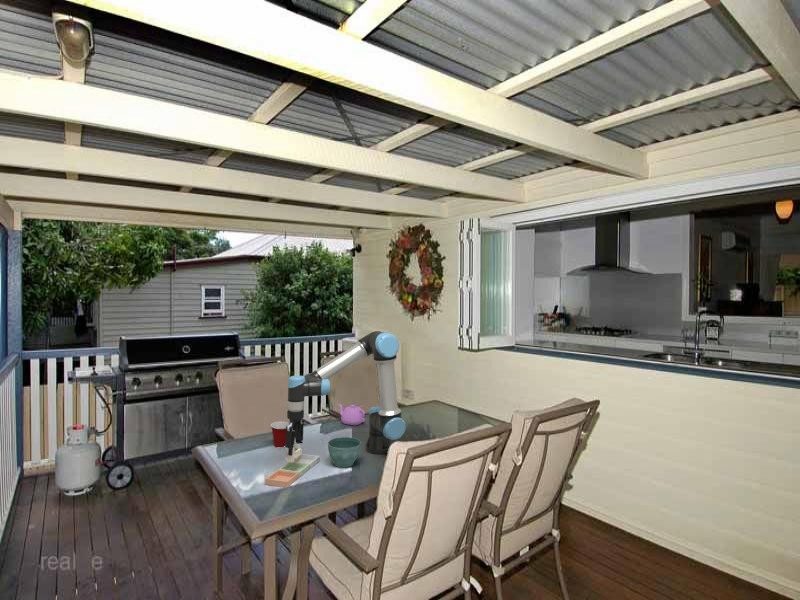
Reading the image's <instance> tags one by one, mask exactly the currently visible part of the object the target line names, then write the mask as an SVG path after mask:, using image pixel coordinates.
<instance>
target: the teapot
mask: <svg viewBox="0 0 800 600" xmlns="http://www.w3.org/2000/svg"><path fill="white" fill-rule="evenodd" d="M337 405H338V406H339V413H340V417H341V419H340V420H341V422H342V423H343V424H344V425H348V426H357V425H361V424H362V423H364V422H365V421H366V418H365V415H366V412H365V410H364V409H362V408H361V407H360V406H356V405H355V404H351V405H350V406H347V407H344V408H343V405H342V404H341V403H338V404H337Z"/></svg>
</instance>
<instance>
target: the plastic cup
mask: <svg viewBox="0 0 800 600" xmlns="http://www.w3.org/2000/svg"><path fill="white" fill-rule="evenodd" d="M289 423H290V422H289V421H288V422H287V421H274V422H272V423H271V424H270V427H271V432H272V438H273V445H274V446H273V447H274V448H277V447H282V448H285V447H286V426H289ZM284 446H285V447H284Z"/></svg>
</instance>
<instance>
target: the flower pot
mask: <svg viewBox="0 0 800 600" xmlns="http://www.w3.org/2000/svg"><path fill="white" fill-rule="evenodd" d="M361 445H362V441H361V440H360V439H359V438H356V437H349V436H348V437H347V436H345V437H344V436H342V437H341V436H340V437H335V438H332V439H329V440H328V441H327V450H328V454H329V457H330V459H331V460H332V462H333V465H334V466H335V467H337V468H350V467H352V466H353V465H354V463H355V461H356V460H357V458H358V456H359V453H360V451H361Z"/></svg>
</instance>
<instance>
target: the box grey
mask: <svg viewBox="0 0 800 600" xmlns="http://www.w3.org/2000/svg"><path fill="white" fill-rule="evenodd" d="M320 458H321V456H320V455H314V454H313V455H312V454H304V453H302V455H301V460H300V461H298V463H305V464H310V470H311V469H312V468H313V467H314V466H316V465H317V464H318V463H320V460H321V459H320Z"/></svg>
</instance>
